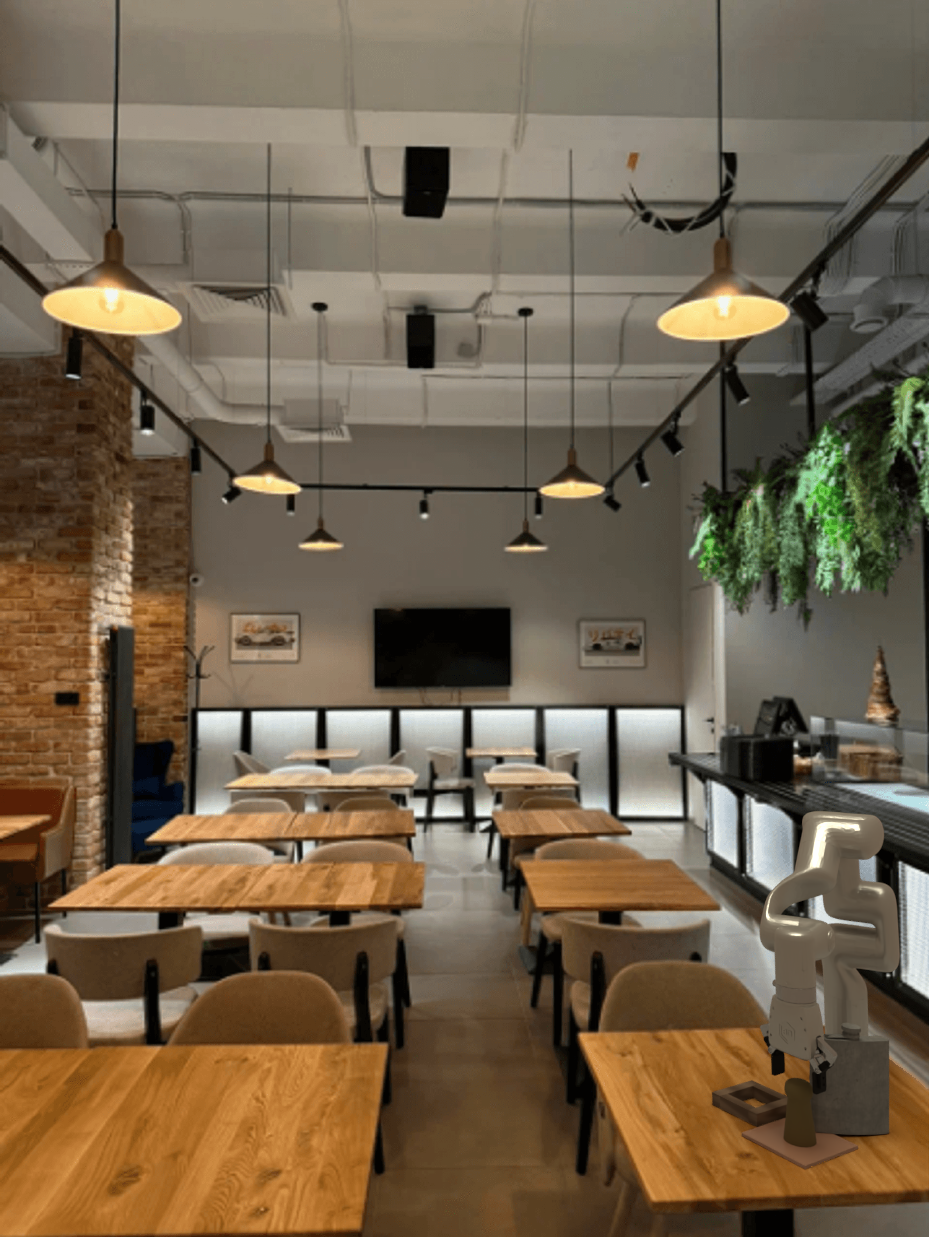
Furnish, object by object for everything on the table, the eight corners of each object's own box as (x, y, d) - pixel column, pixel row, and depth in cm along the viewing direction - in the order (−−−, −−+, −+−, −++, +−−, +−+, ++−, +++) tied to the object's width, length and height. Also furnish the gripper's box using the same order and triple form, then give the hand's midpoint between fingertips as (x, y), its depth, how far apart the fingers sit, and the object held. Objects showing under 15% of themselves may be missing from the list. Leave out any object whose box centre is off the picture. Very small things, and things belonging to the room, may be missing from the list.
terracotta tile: (793, 1118, 190) (793, 1114, 191) (858, 1148, 178) (858, 1145, 178) (741, 1135, 183) (741, 1132, 183) (805, 1169, 170) (805, 1165, 170)
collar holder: (752, 1092, 203) (751, 1080, 203) (797, 1113, 193) (797, 1100, 193) (712, 1104, 197) (712, 1092, 197) (757, 1127, 186) (756, 1114, 187)
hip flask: (883, 1126, 187) (884, 1022, 189) (894, 1135, 183) (894, 1029, 185) (806, 1125, 186) (807, 1020, 188) (815, 1134, 182) (816, 1027, 184)
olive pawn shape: (814, 1134, 182) (813, 1075, 183) (818, 1148, 176) (817, 1088, 177) (781, 1130, 184) (780, 1072, 184) (784, 1145, 178) (783, 1084, 179)
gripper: (747, 983, 188) (750, 1071, 187) (820, 1009, 173) (823, 1105, 172) (773, 977, 192) (775, 1063, 191) (846, 1002, 177) (849, 1095, 176)
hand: (798, 1082), depth 182 cm, fingers open, 9 cm apart
